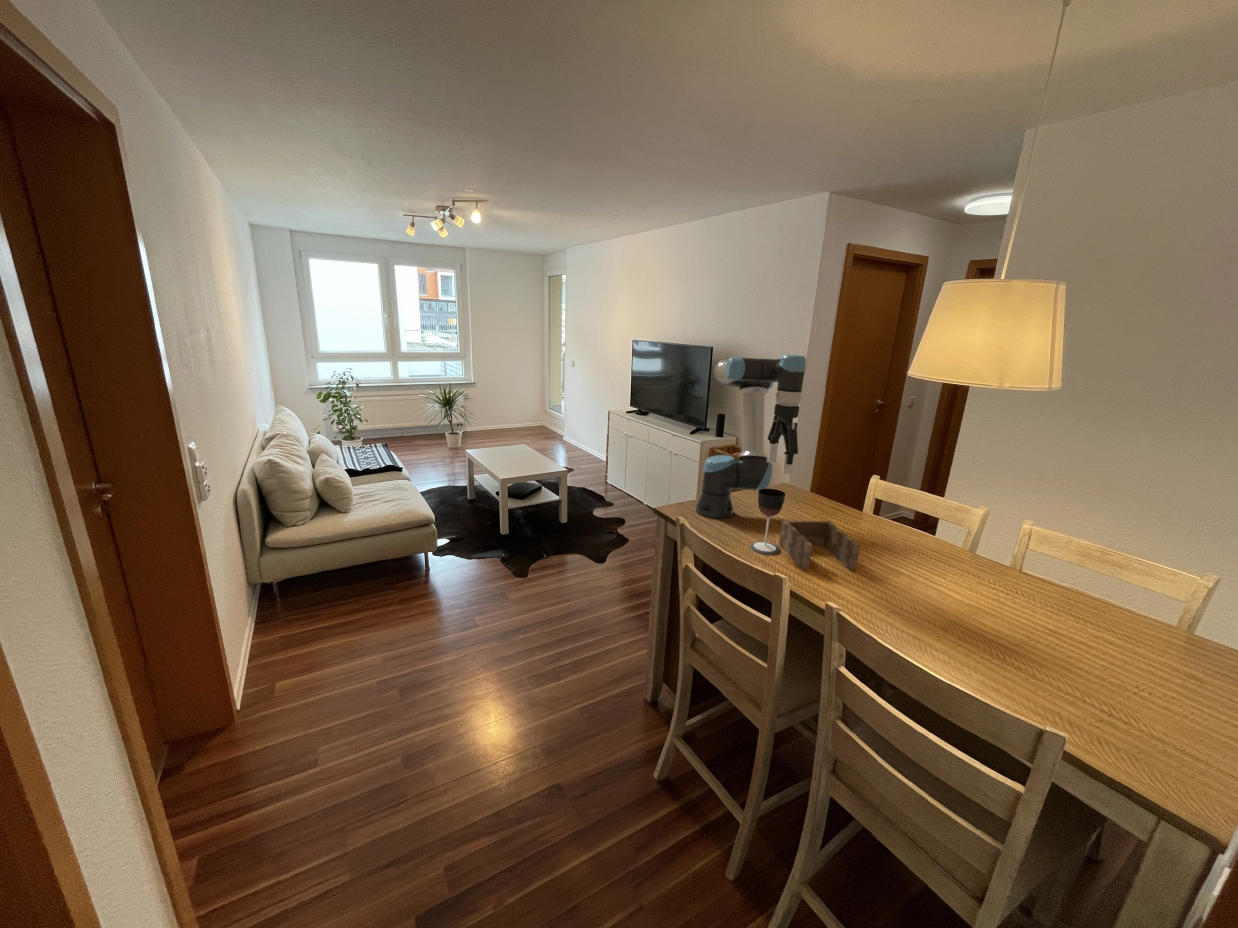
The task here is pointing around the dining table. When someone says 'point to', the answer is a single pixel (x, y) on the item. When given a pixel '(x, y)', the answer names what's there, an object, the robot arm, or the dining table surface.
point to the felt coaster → (766, 551)
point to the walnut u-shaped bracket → (817, 542)
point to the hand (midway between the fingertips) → (778, 467)
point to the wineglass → (769, 511)
